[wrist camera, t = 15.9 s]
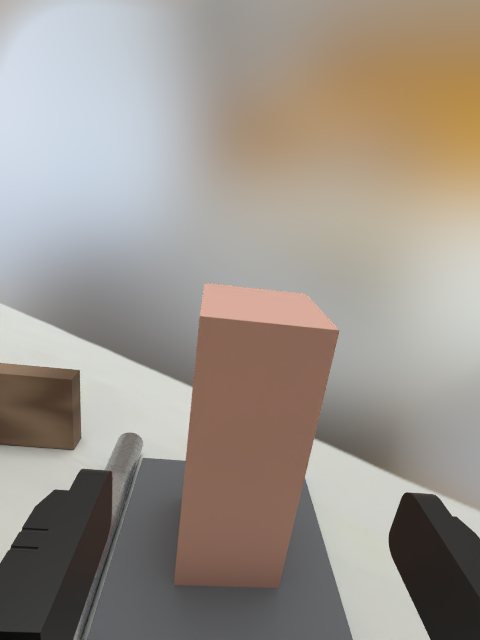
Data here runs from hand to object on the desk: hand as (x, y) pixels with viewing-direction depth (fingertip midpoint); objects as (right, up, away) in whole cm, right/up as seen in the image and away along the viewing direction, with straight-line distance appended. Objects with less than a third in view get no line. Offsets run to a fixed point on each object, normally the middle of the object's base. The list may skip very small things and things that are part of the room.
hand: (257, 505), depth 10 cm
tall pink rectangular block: (-1, -6, +7) cm, 9 cm away
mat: (-1, -6, +8) cm, 10 cm away
